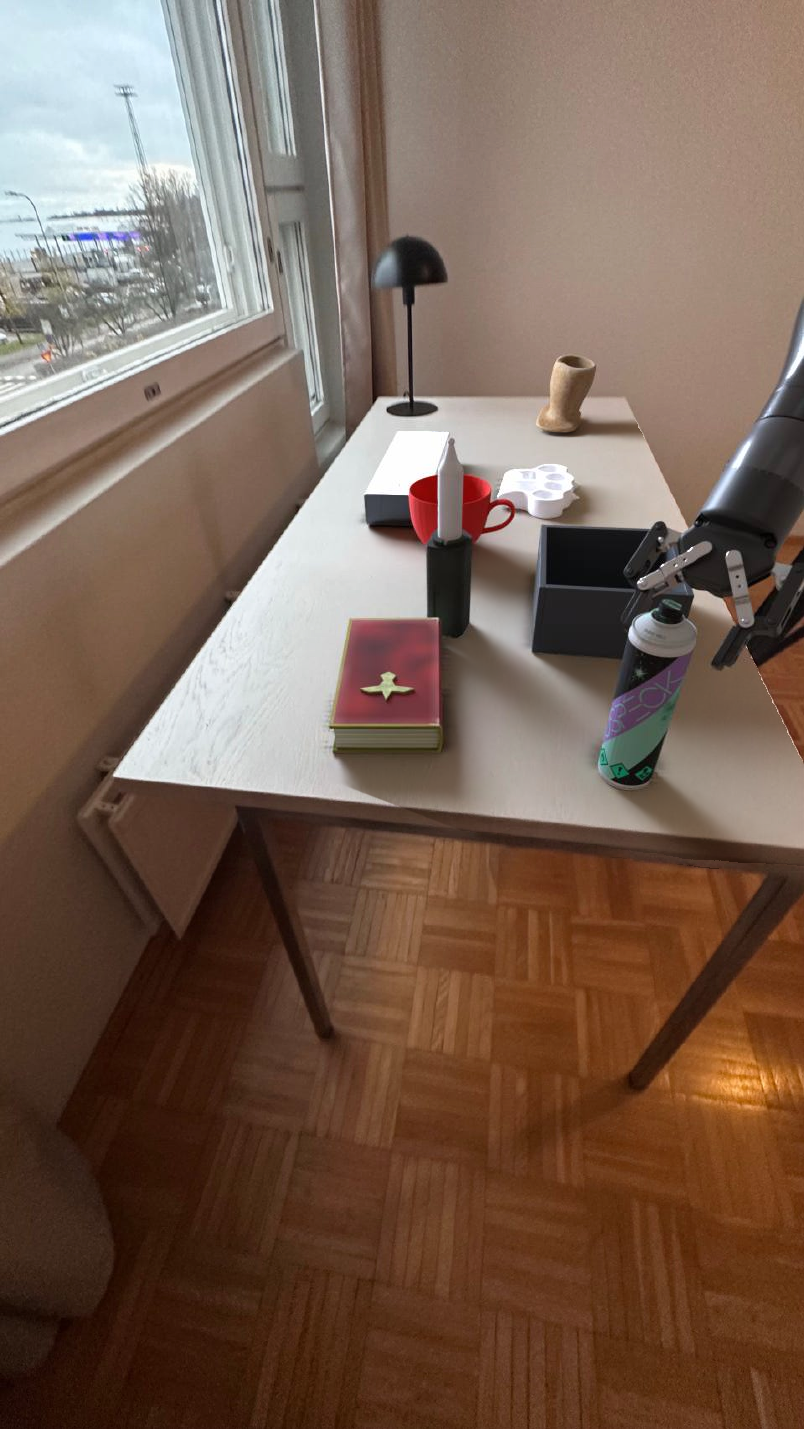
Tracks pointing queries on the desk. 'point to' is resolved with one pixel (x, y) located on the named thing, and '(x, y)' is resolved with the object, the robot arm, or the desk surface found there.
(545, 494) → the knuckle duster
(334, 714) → the hardcover book
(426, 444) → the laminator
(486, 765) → the desk surface
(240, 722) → the desk surface
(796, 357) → the robot arm
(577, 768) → the desk surface
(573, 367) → the stone cup
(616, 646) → the bin
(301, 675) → the desk surface
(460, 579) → the candle
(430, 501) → the ceramic cup
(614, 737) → the spray can
